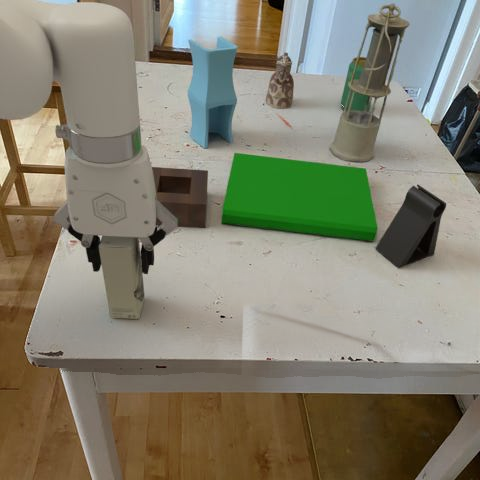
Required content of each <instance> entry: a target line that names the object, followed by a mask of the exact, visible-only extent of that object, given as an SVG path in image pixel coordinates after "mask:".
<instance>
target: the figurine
mask: <svg viewBox="0 0 480 480" xmlns="http://www.w3.org/2000/svg"><path fill="white" fill-rule="evenodd" d="M275 64H276V65H275V71H274V73H273V74H271V76H270V79H269V82H268V83H269V84H268V88H267V92H266V96H265V103H266V104H267V105H268V106H270V108H273V109H274V108H275V109H279V110H280V109H289V108H291V106H292V105H293V100H294V88H295V81H294V77H293V75H292V74H291V72H292V71H291V70H292V65H293V61H292V59H291V56H289V53H288V52H283V54H282V55H280V56H279V57H278V59H277V60H276V63H275Z"/></svg>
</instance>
